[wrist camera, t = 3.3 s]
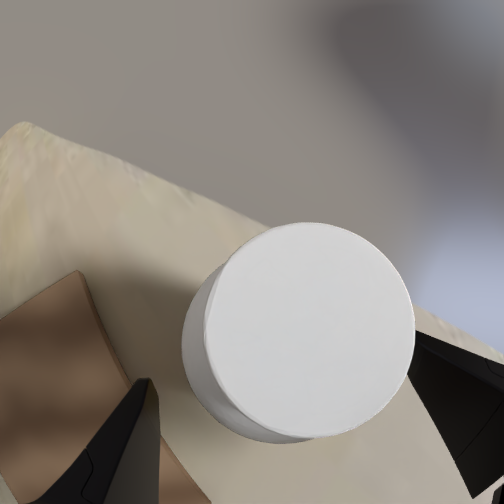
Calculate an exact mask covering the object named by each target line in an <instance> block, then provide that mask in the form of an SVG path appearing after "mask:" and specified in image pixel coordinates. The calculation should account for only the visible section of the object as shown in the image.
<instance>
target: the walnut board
mask: <svg viewBox="0 0 504 504" xmlns="http://www.w3.org/2000/svg"><path fill="white" fill-rule="evenodd" d="M131 387H132V385H131V384H130V382H129V380H128V378H127V376H126V374H125V372H124V370H123V368H122V366H121V364H120V362H119V360H118V358H117V356H116V354H115V352H114V350H113V348H112V345H111V343H110V341H109V339H108V337H107V334H106V332H105V330H104V328H103V325H102V323H101V320H100V318H99V316H98V313H97V311H96V308H95V306H94V303H93V300H92V298H91V295H90V292H89V290H88V287H87V284H86V281H85V278H84V276H83V274H82V273H80V272H79V271H78V270H76V271H74V272H73V273H71V274H70V275H68V276H66V277H65V278H63V279H61V280H60V281H58V282H57V283H55V284H53V285H52V286H50V287H49V288H47V289H46V290H44V291H43V292H41V293H39V294H38V295H36V296H35V297H33V298H32V299H30V300H29V301H27V302H26V303H24V304H23V305H21V306H20V307H18V308H17V309H15V310H14V311H13V312H11V313H10V314H8V315H7V316H5V317H4V318H3V319H1V320H0V473H1V475H2V476H3V478H4V480H5V482H6V484H7V485H8V487H9V489H10V490H11V492H12V494H13V495H14V497H15V499H16V500H17V502H18V503H19V504H26V503H30V502H32V501H34V500H36V499H38V498H39V497H40V496H41V495H43V494H44V493H45V492H46V491H47V490H48V489H49V488H50V487H51V486H52V485H53V483H54V482H55V481H56V480H57V479H58V478H59V477H60V476H61V475H62V474H63V473H64V472H65V471H66V470H67V469H68V468H69V467H70V466H71V464H72V463H73V462H74V461H75V459H76V458H77V457H78V456H79V454H80V453H81V452H82V451H83V449H84V448H86V445H87V444H88V443H89V442H90V440H91V439H92V438H93V436H94V435H95V434H96V432H97V431H98V430H99V428H100V427H101V426H102V425H103V423H104V422H105V421H106V419H107V418H108V417H109V415H110V414H111V413H112V412H113V410H114V409H115V408H116V406H117V405H118V404H119V403H120V401H121V400H122V399H123V397H124V396H125V395H126V394H127V392H128V391H129V390H130V388H131ZM160 435H161V434H160ZM211 503H212V502H211V501H210V500H209V499H208V498H207V496H206V495H205V494H204V493H203V492H202V490H201V489H200V488H199V487H198V485H197V484H196V483H195V482H194V480H193V479H192V478H191V477H190V475H189V474H188V473H187V471H186V470H185V469H184V467H183V466H182V465H181V463H180V462H179V461H178V459H177V458H176V456H175V455H174V454H173V452H172V451H171V449H170V448H169V446H168V445H167V443H166V442H165V440H164V439H163V437H162V436H161V443H160V465H159V504H211Z"/></svg>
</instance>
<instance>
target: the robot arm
mask: <svg viewBox="0 0 504 504" xmlns="http://www.w3.org/2000/svg"><path fill="white" fill-rule="evenodd" d="M407 375H408V377H409V379H410V381H411V383H412V385H413V387H414V389H415V390H416V392H417V394H418V395H419V397H420V399H421V401H422V402H423V404H424V406H425V408H426V409H427V411H428V413H429V415H430V417H431V418H432V420H433V422H434V424H435V426H436V427H437V429H438V431H439V433H440V435H441V437H442V438H443V440H444V442H445V444H446V446H447V448H448V450H449V452H450V454H451V456H452V458H453V460H454V461H455V464H456V466H457V468H458V470H459V472H460V474H461V476H462V478H463V480H464V482H465V485H466V487H467V489H468V491H469V493H470V495H471V497H472V499H474V498H475V497H477V496H478V495H479V494H481V493H482V492H483V491H484V490H486V489H487V488H488V487H490V486H491V485H492V484H493V483H495V482H496V481H497V480H498V479H499V478H500V477H502V476H503V477H504V365H503V364H500V363H497V362H495V361H492V360H489V359H487V358H484V357H482V356H479V355H477V354H474V353H472V352H469V351H467V350H464V349H462V348H459V347H456V346H454V345H451V344H449V343H446V342H444V341H441V340H439V339H436V338H434V337H431V336H429V335H426V334H424V333H422V332H419V331H417V330H415V345H414V351H413V356H412V360H411V363H410V366H409V369H408V372H407ZM160 443H161V435H160V419H159V399H158V394H157V392H156V389H155V387H154V385H153V382H152V380H151V379H150V378H139V379H138V380H137V381H136V382H135V383H134V385H133V386H132V387H131V388H130V390H129V391H128V392H127V394H126V395H125V396H124V397H123V399H122V400H121V401H120V403H119V404H118V405H117V406H116V408H115V409H114V410H113V412H112V413H111V414H110V415H109V417H108V418H107V419H106V421H105V422H104V423H103V425H102V426H101V427H100V428H99V430H98V431H97V432H96V434H95V435H94V436H93V438H92V439H91V440H90V442H89V443H88V444H87V445H86V448H84V449H83V451H82V452H81V453H80V454H79V456H78V457H77V458H76V459H75V461H74V462H73V463H72V464H71V466H70V467H69V468H68V469H67V470H66V471H65V472H64V473H63V474H62V475H61V476H60V477H59V478H58V479H57V480H56V481H55V482H54V483H53V485H52V486H51V487H50V488H49V489H48V490H47V491H46V492H45V493H44V494H43V495H41V496H40V497H39V498H38V499H36V500H34V501H32V502H30V503H26V504H159V465H160ZM492 504H504V483H503V484H502V485H501V486H500V487H498V488H497V489H496V490H495V491H494V495H493V500H492Z"/></svg>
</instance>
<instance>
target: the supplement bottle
mask: <svg viewBox="0 0 504 504" xmlns="http://www.w3.org/2000/svg"><path fill="white" fill-rule="evenodd" d="M414 345H415V319H414V313H413V307H412V303H411V300H410V297H409V294H408V291H407V289H406V287H405V284H404V282H403V280H402V278H401V276H400V275H399V273H398V272H397V270H396V269H395V268H394V266H393V265H392V264H391V262H390V261H389V260H388V259H387V258H386V257H385V255H384V254H383V253H382V252H380V251H379V250H378V249H377V248H376V247H375V246H373V245H372V244H371V243H369V242H368V241H366V240H365V239H364V238H362V237H360V236H358V235H356V234H354V233H352V232H350V231H348V230H345V229H342V228H339V227H336V226H332V225H328V224H323V223H310V222H303V223H292V224H286V225H282V226H279V227H275V228H272V229H270V230H267V231H265V232H263V233H261V234H259V235H257V236H255V237H253V238H252V239H250V240H249V241H247V242H246V243H245V244H243V245H242V246H240V247H239V248H238V249H237V250H236V251H235V252H234V253H233V254H232V255H231V256H230V257H229V259H228V260H227V261H226V262H225V263H224V264H222V265H221V266H220V267H218V268H217V269H216V270H215V271H214V272H213V273H212V274H211V275H210V276H209V277H208V278H207V279H206V280H205V281H204V283H203V284H202V285H201V287H200V288H199V290H198V291H197V293H196V295H195V296H194V298H193V300H192V302H191V304H190V306H189V309H188V311H187V314H186V317H185V321H184V326H183V332H182V359H183V365H184V369H185V373H186V376H187V379H188V381H189V384H190V386H191V388H192V390H193V392H194V394H195V395H196V397H197V398H198V400H199V402H200V403H201V404H202V405H203V407H204V408H205V409H206V410H207V411H208V412H209V413H210V414H211V415H212V416H213V417H214V418H215V419H216V420H217V421H219V422H220V423H221V424H222V425H224V426H225V427H227V428H228V429H230V430H232V431H233V432H235V433H237V434H239V435H242V436H244V437H247V438H249V439H253V440H256V441H260V442H266V443H274V444H287V443H297V442H303V441H307V440H311V439H314V438H322V437H329V436H334V435H338V434H341V433H344V432H346V431H349V430H351V429H354V428H356V427H358V426H360V425H362V424H363V423H365V422H367V421H368V420H369V419H371V418H372V417H373V416H375V415H376V414H377V413H378V412H380V411H381V410H382V409H383V408H384V407H385V406H386V405H387V403H388V402H389V401H390V400H391V399H392V397H393V396H394V395H395V393H396V392H397V390H398V389H399V387H400V386H401V384H402V383H403V381H404V379H405V377H406V374H407V372H408V369H409V366H410V363H411V360H412V356H413V351H414Z"/></svg>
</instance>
